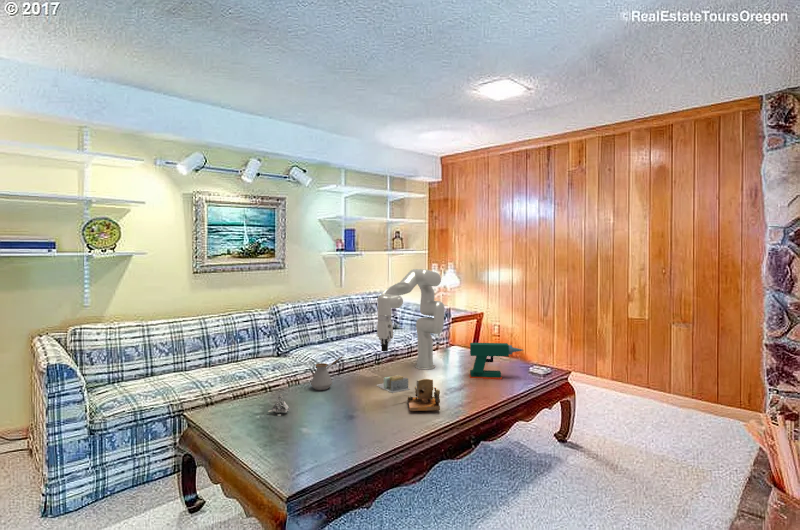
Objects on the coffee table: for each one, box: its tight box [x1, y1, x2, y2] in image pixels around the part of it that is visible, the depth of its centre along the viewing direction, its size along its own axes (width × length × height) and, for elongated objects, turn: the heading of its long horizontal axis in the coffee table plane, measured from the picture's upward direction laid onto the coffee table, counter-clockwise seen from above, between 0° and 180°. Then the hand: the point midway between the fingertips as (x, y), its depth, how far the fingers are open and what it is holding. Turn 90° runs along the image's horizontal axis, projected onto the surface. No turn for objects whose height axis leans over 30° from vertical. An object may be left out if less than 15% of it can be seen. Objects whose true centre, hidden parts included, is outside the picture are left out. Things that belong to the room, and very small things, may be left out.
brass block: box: [389, 374, 404, 388], centre depth 243 cm, size 4×6×6 cm, turn 125°
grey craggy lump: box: [267, 393, 290, 417], centre depth 209 cm, size 9×9×8 cm
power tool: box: [468, 342, 524, 380], centre depth 266 cm, size 32×7×20 cm, turn 84°
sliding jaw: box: [383, 374, 402, 388], centre depth 246 cm, size 3×10×5 cm, turn 125°
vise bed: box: [376, 377, 410, 394], centre depth 246 cm, size 16×11×6 cm
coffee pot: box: [310, 356, 345, 391], centre depth 249 cm, size 21×12×15 cm, turn 138°
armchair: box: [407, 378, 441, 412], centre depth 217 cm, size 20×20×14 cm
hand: (384, 350), depth 253 cm, fingers closed
